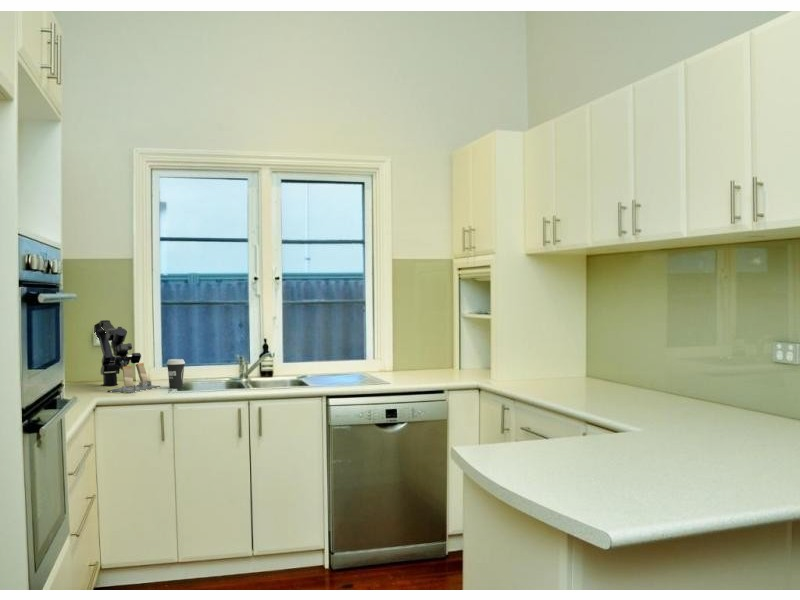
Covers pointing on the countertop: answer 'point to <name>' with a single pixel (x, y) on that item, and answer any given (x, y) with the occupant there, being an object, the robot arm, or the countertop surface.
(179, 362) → the coffee cup
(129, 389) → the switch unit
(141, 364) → the lever
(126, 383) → the lever
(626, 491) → the countertop surface
